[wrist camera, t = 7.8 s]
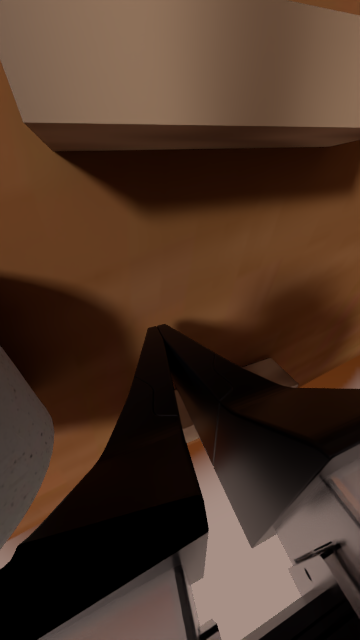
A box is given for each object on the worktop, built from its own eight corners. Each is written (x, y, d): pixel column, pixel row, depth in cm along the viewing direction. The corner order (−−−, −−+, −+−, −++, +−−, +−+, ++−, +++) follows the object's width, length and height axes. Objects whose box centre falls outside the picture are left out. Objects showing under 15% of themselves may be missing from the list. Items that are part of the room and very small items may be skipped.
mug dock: (347, 83, 8) (450, 34, 6) (266, 373, 18) (291, 399, 16) (21, 53, 5) (-47, -70, 3) (139, 417, 15) (147, 459, 13)
